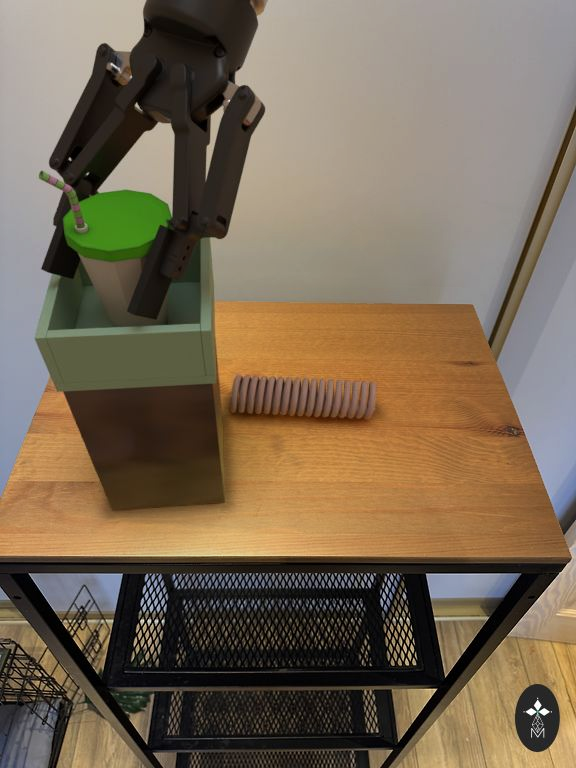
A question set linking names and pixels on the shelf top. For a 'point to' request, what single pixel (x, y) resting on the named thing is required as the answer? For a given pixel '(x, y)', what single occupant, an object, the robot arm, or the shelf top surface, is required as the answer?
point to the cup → (115, 244)
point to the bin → (130, 334)
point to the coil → (303, 396)
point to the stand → (154, 443)
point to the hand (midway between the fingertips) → (98, 294)
